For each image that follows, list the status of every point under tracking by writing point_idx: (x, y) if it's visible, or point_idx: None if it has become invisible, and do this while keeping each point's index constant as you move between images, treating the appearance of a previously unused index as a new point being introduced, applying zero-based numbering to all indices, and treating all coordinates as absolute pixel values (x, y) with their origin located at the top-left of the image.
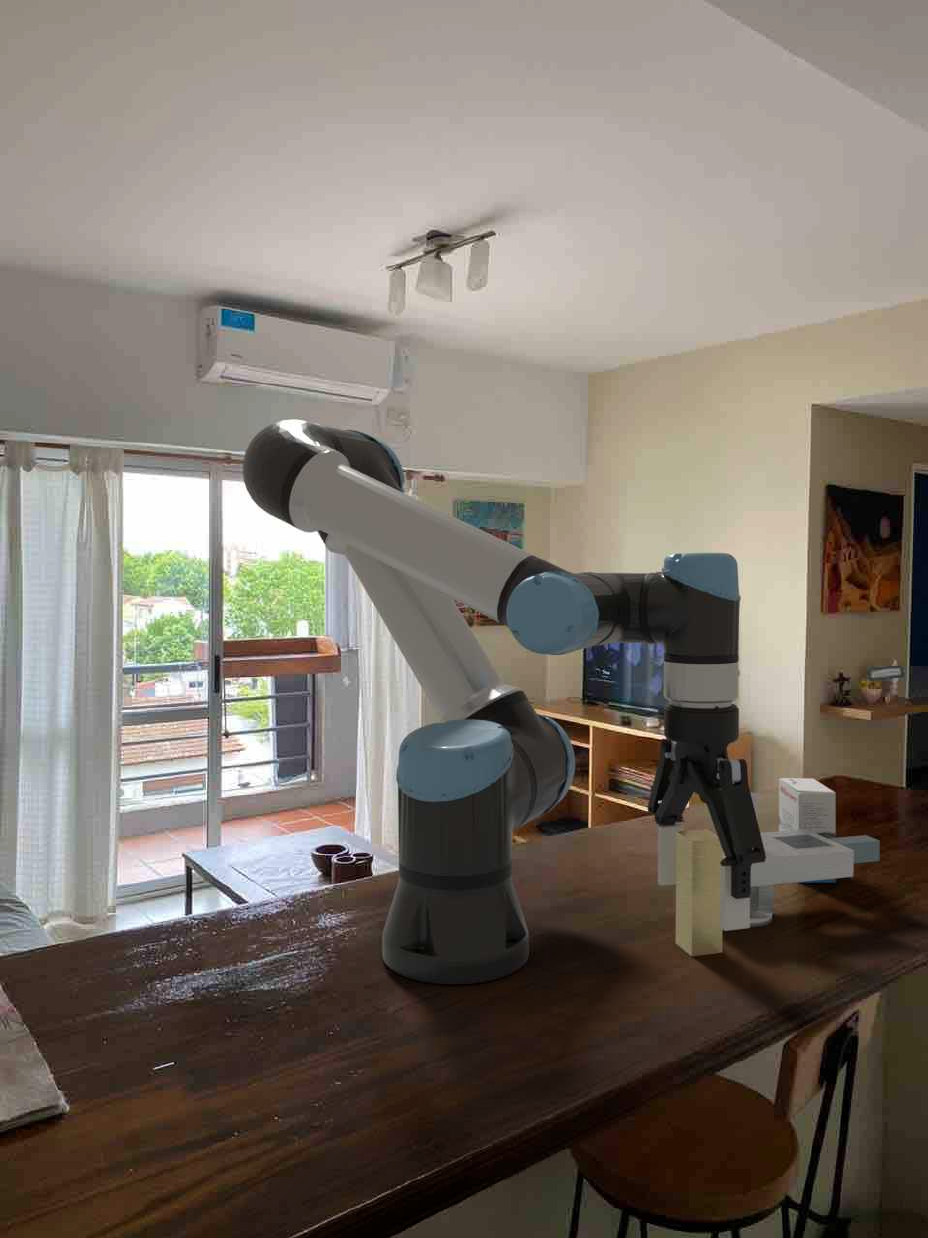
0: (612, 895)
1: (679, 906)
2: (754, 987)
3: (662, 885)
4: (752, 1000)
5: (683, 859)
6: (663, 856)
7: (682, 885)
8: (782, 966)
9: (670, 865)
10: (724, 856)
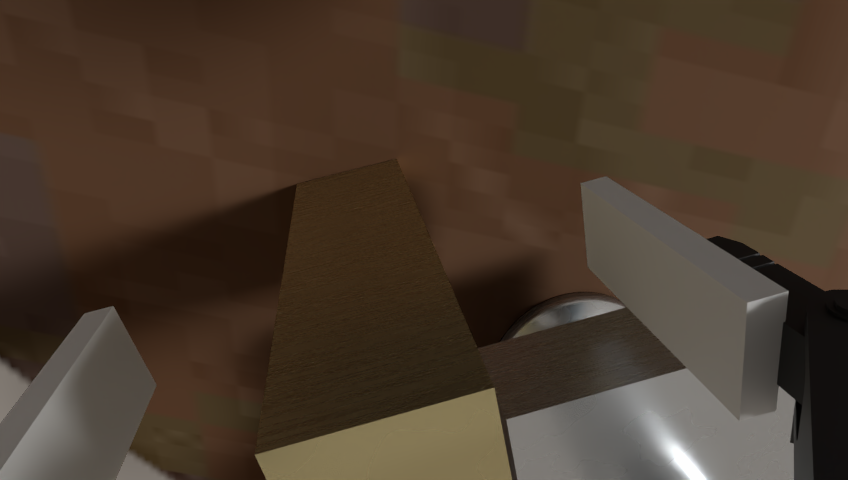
0: (810, 38)
1: (385, 209)
2: (95, 301)
3: (582, 188)
4: (2, 279)
5: (373, 322)
6: (643, 239)
7: (370, 253)
8: (245, 388)
9: (622, 252)
10: (580, 465)
